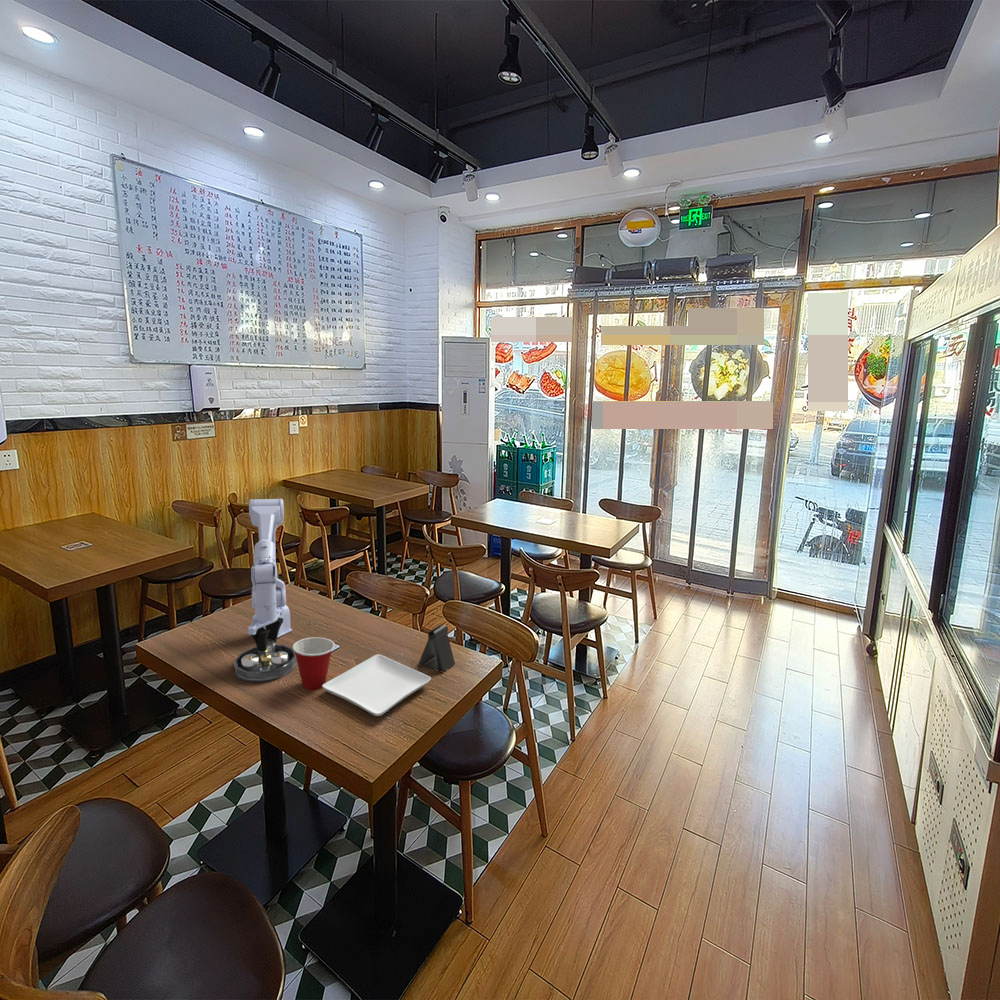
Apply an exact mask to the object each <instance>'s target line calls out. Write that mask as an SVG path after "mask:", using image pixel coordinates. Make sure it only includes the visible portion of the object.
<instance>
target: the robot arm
mask: <svg viewBox="0 0 1000 1000" xmlns="http://www.w3.org/2000/svg"><path fill="white" fill-rule="evenodd" d="M284 504H285V503H284V500H283V499H282V498H281V497H280V498H263V499H262V498H259V499H257V498H256V499H253V498H251V499H250V500H249V502H248V512H249V513H248V515H249V518H250V522H251V524H252V526H254V527H257V529H258V530H257V531H258V541H257V542H256V543H255V545H254V551H253V552H254V553H253V565H252V566H251V571H250V572H251V573H250V574H251V575H250V576H251V577H250V578H251V583H252V587H251V588H252V589H251V608H252V609H253V610H254V615H253V616H252V617H251V619H252V622H251V623H250V625H249V626H247V634H248V635H250V636H251V637H252V638H253V640H254V642H255V645H256V647H257V648H258V651H266V649H267V639H272V640H274V641H275V644H276V643H277V640H278V638H279V637H282V636H284V635H286V634H288V633H290V632H293V629H292V628H291V611H290V608H289V606H288V605H287V594H286V593H287V592H286V584H285V582H284V581H283V580H281V579H279V578H278V567H277V562H276V559H277V558H276V554H277V553H276V549H277V548H276V547H277V546H276V532H277V528H278V527H279V526H281V525H283V524H284V523H283V522H284V521H285V520H284V519H285V518H284V515H285V513H284V512H285V509H284V508H285V507H284Z"/></svg>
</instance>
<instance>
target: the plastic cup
mask: <svg viewBox="0 0 1000 1000" xmlns="http://www.w3.org/2000/svg"><path fill="white" fill-rule="evenodd" d="M335 647H336V644H335V642H334V641H333V640H332V639H328V638H327V637H319V636H317V637H314V636H312V637H306V638H302V639H300V640H298V641H297V640H296V641H295V642H294V644H292V648H293V650H294V651H295V655H296V659H297V661H296V664H297V666H298V667H297V668H298V672H299V676H300V680H301V684H302V687H303V689H305V690H308V691H317V690H319V689H322V688H323V687H322V685H323V684H325V683H326V681H327V674H328V671H329V665H330V661H331V660H330V659H331V656H332V653H333V651H334V649H335Z"/></svg>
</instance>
